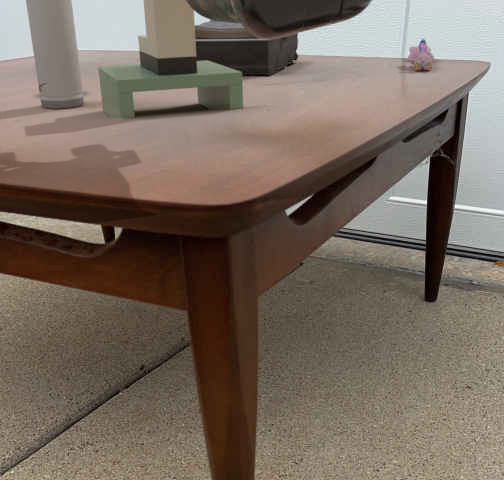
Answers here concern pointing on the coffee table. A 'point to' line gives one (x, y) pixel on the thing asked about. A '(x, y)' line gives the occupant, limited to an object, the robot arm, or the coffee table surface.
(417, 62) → the rabbit figure
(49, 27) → the travel mug
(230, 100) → the shoe shelf
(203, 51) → the bible
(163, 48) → the beige dark-bottomed block
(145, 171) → the coffee table surface
